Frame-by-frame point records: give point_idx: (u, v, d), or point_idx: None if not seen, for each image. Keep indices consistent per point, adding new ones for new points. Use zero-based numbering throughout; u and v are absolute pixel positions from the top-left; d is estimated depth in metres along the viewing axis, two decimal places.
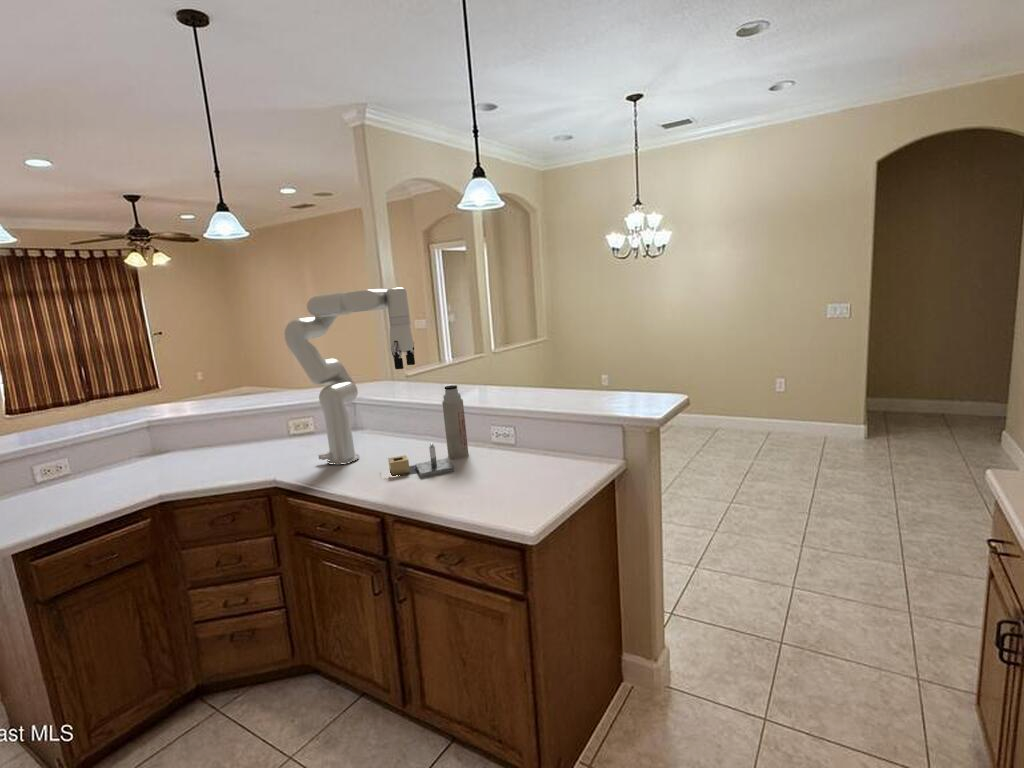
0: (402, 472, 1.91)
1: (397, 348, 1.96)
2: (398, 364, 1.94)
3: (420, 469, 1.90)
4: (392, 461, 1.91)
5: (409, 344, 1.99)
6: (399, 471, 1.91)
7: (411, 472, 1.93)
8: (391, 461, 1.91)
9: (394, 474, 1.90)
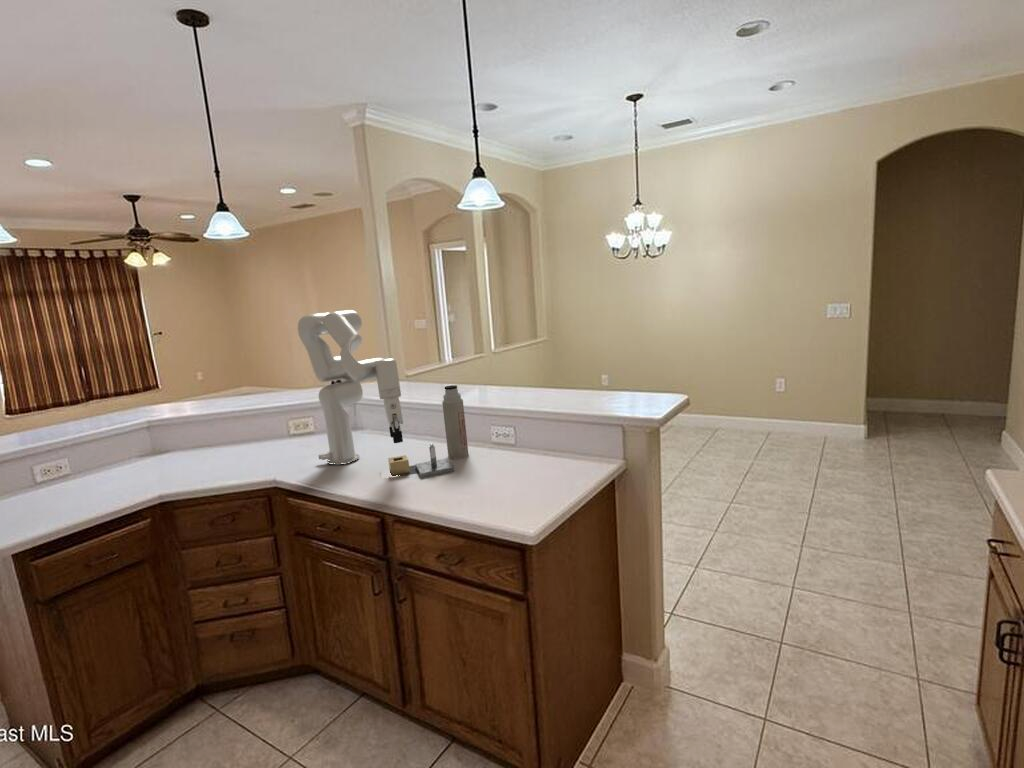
0: (402, 472, 1.91)
1: None
2: None
3: (420, 469, 1.90)
4: (392, 461, 1.91)
5: (387, 418, 1.89)
6: (399, 471, 1.91)
7: (411, 472, 1.93)
8: (391, 461, 1.91)
9: (394, 474, 1.90)
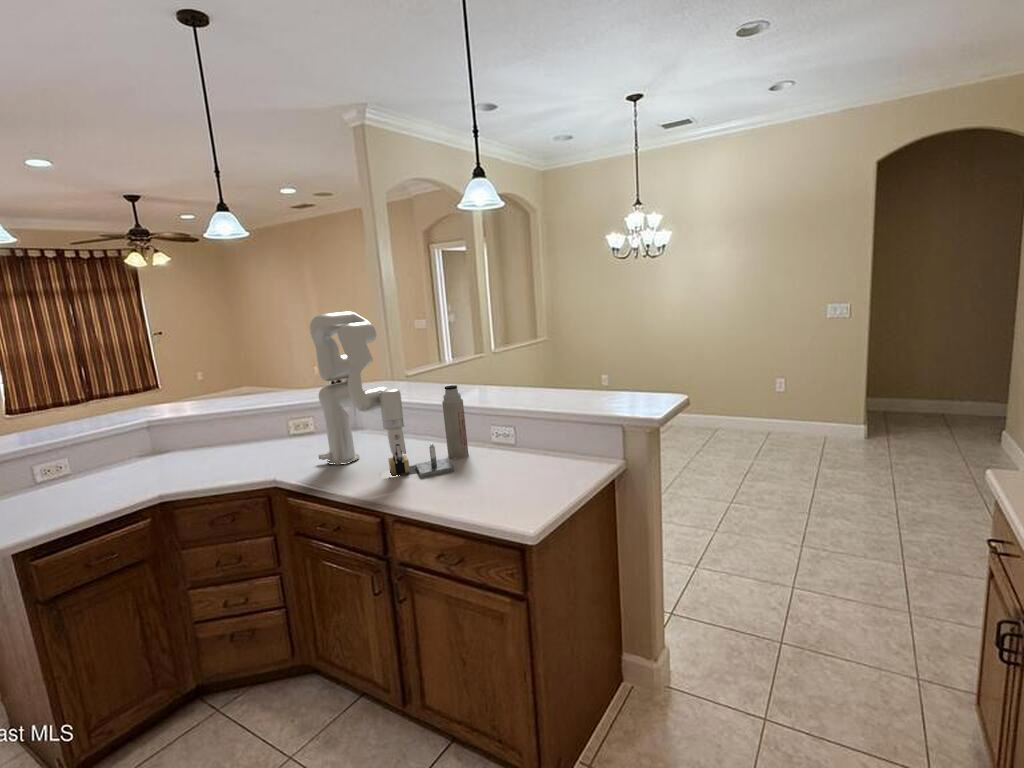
0: None
1: None
2: None
3: (420, 469, 1.90)
4: (392, 461, 1.91)
5: (390, 448, 1.91)
6: None
7: (411, 472, 1.93)
8: (391, 461, 1.91)
9: (394, 474, 1.90)
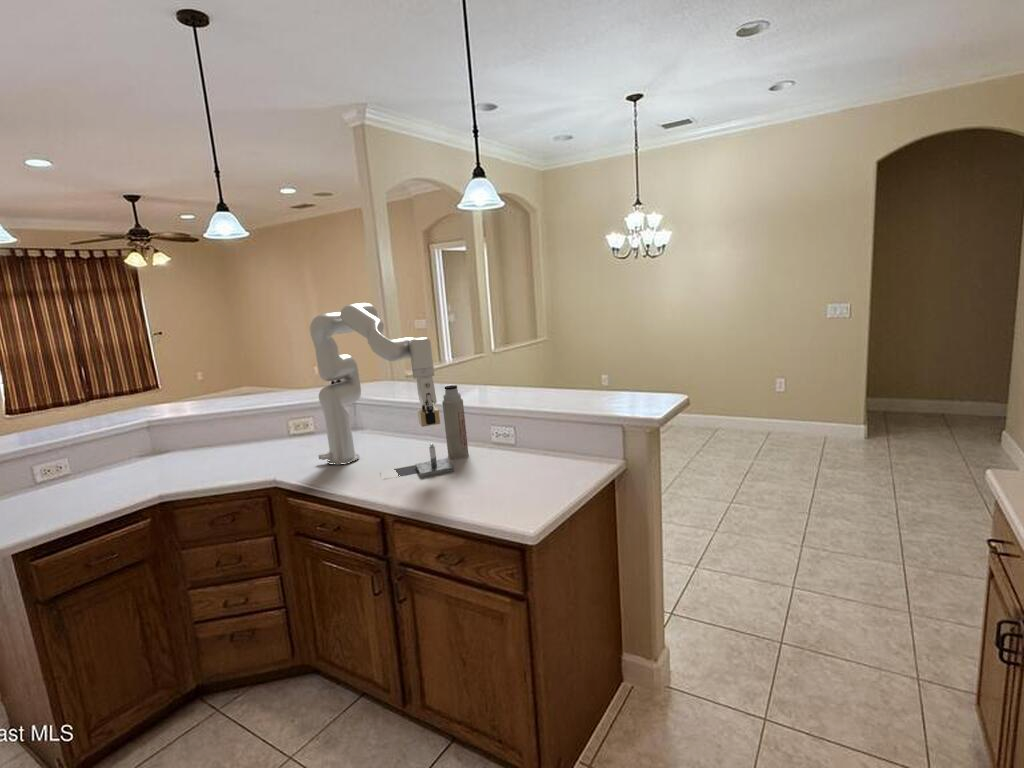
0: None
1: None
2: None
3: (420, 469, 1.90)
4: (422, 411, 1.87)
5: (420, 398, 1.87)
6: None
7: (411, 472, 1.93)
8: (421, 411, 1.87)
9: (424, 424, 1.86)
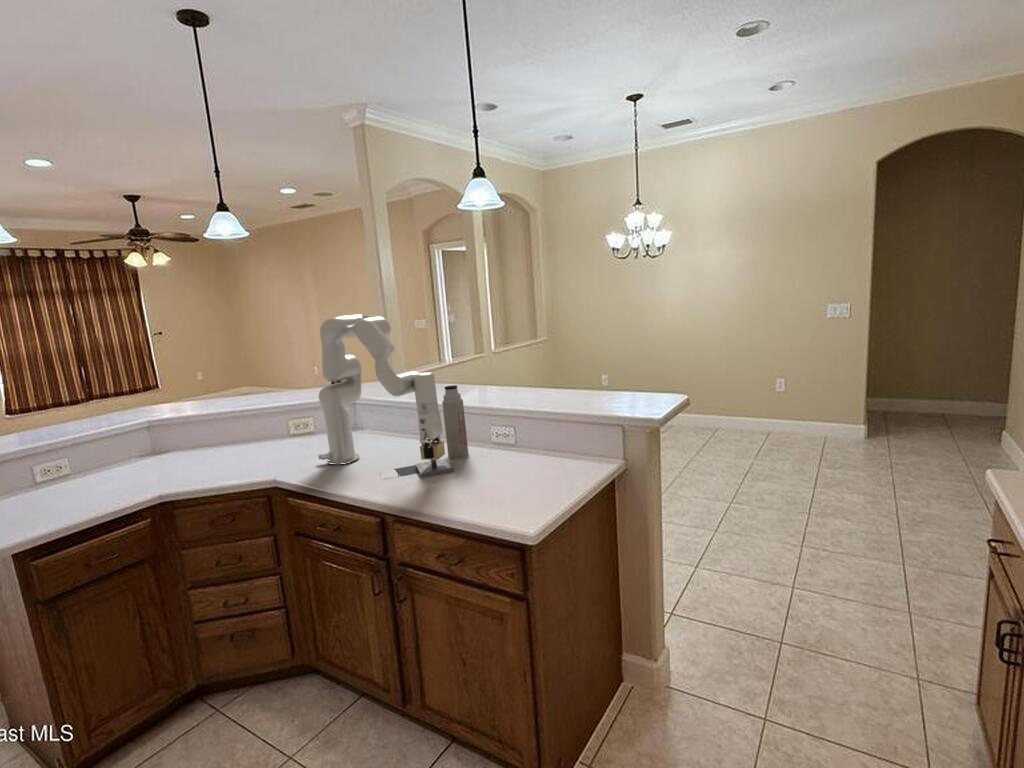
0: None
1: None
2: None
3: (420, 469, 1.90)
4: None
5: None
6: None
7: (411, 472, 1.93)
8: None
9: (423, 458, 1.90)
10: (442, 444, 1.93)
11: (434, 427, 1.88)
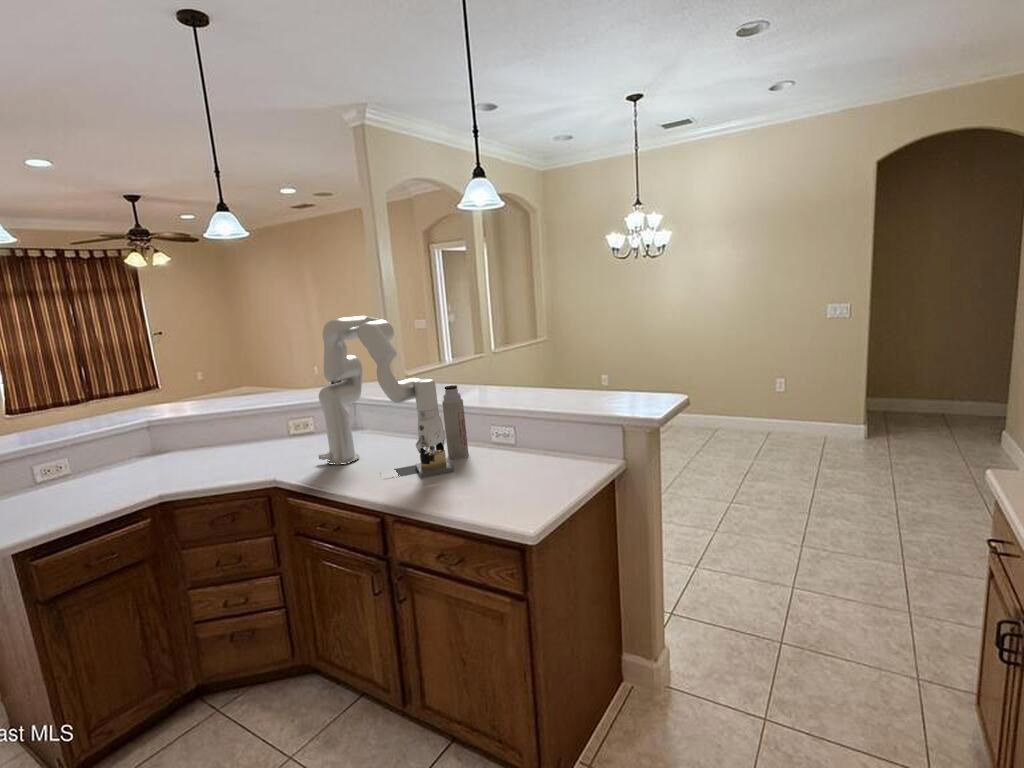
0: (430, 466, 1.90)
1: None
2: None
3: (420, 469, 1.90)
4: None
5: None
6: (427, 464, 1.90)
7: (411, 472, 1.93)
8: None
9: (423, 466, 1.91)
10: (443, 453, 1.93)
11: (433, 434, 1.88)
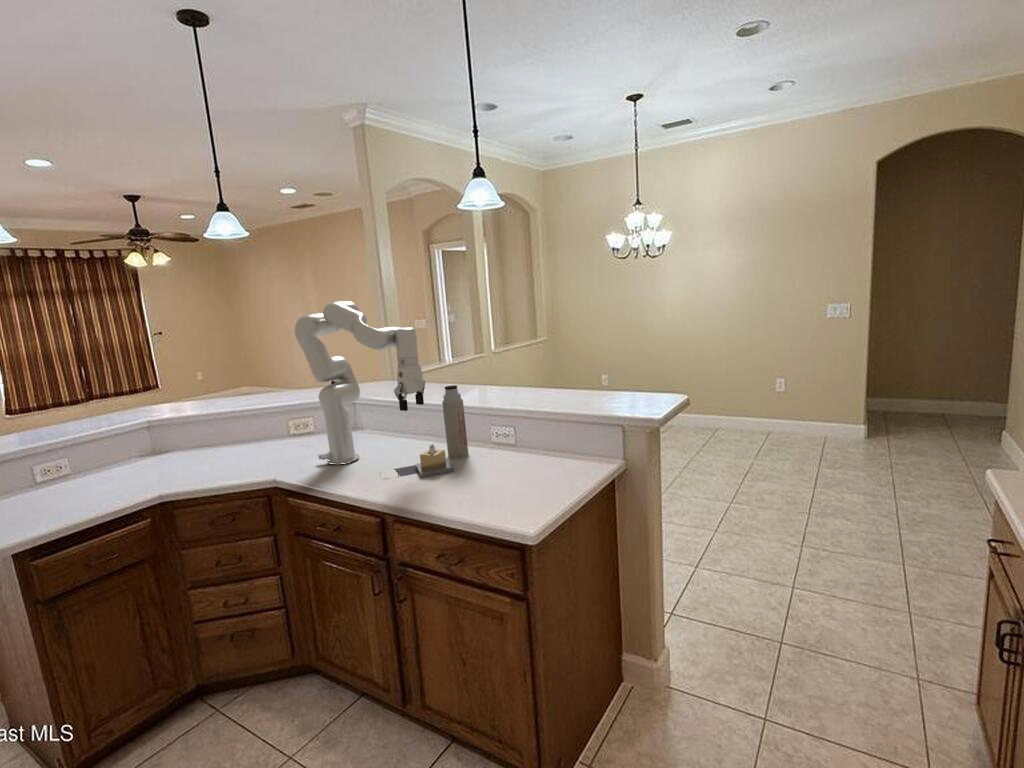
0: (430, 466, 1.90)
1: None
2: None
3: (420, 469, 1.90)
4: (424, 453, 1.92)
5: None
6: (427, 464, 1.90)
7: (411, 472, 1.93)
8: (424, 453, 1.92)
9: (423, 466, 1.91)
10: (443, 453, 1.93)
11: (412, 382, 1.91)
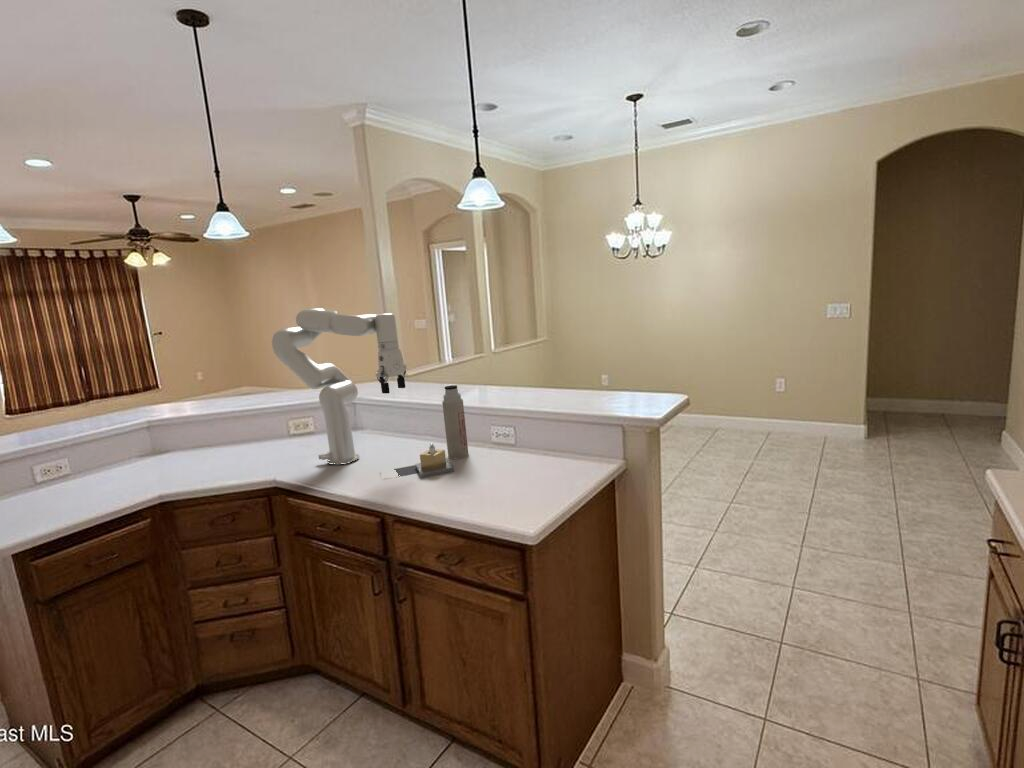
0: (430, 466, 1.90)
1: None
2: None
3: (420, 469, 1.90)
4: (424, 453, 1.92)
5: None
6: (427, 464, 1.90)
7: (411, 472, 1.93)
8: (424, 453, 1.92)
9: (423, 466, 1.91)
10: (443, 453, 1.93)
11: (393, 365, 1.99)
